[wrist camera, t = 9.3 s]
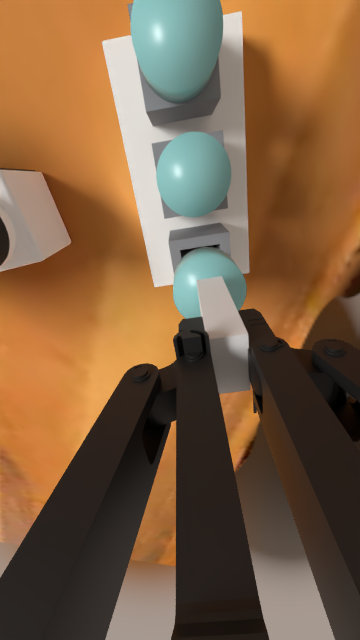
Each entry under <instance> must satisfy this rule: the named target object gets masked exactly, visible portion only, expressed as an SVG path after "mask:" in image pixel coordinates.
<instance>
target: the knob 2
mask: <svg viewBox="0 0 360 640" xmlns="http://www.w3.org/2000/svg"><path fill="white" fill-rule="evenodd" d="M156 179H157V186H158V190H159V193H160V195H161V197H162V199H163V200H164V202H165V203H166V204H167V206H168V207H169V208H170V209H172V210H173V211H174V212H176V213H178V214H180V215H182V216H186V217H200V216H204V215H206V214H208V213H210V212H212V211H213V210H215V209H216V208H217V207H218V206H219V205H220V204H221V203H222V201H223V200H224V198H225V197H226V195H227V193H228V190H229V187H230V183H231V164H230V160H229V157H228V154H227V153H226V151H225V149H224V147H223V146H222V145H221V144H220V143H219V141H217V140H216V139H215V138H214V137H212V136H210V135H208V134H206V133H202V132H187V133H184V134H181V135H179V136H177V137H176V138H174V139H173V140H172V141H171V142H170V143H169V144H168V145H167V146H166V147H165V149H164V150H163V152H162V154H161V156H160V158H159V161H158V165H157V172H156Z"/></svg>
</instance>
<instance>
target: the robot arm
mask: <svg viewBox="0 0 360 640" xmlns="http://www.w3.org/2000/svg"><path fill="white" fill-rule="evenodd" d="M196 281H197V289H198V296H199V304H200V312H201V317H195V318H188V319H183V320H182V321H181V322H180V324H179V333H177V334H176V335H175V336H174V339H173V342H174V347H175V352H176V357H177V360H176V361H175V362H174V363H172V364H171V365H169V366H167V367H165V368H162V369H159V370H158V368H157V367H156V366H154V365H153V364H139V365H137V366H134V367H132V368H131V369H129V370H128V371H127V372H126V373H125V374H124V376H123V377H122V379H121V381H120V382H119V384H118V386H117V387H116V389H115V391H114V392H113V394H112V395H111V397H110V399H109V400H108V402H107V404H106V405H105V407H104V409H103V410H102V412H101V414H100V415H99V417H98V418H97V420H96V422H95V423H94V425H93V427H92V428H91V430H90V432H89V433H88V435H87V436H86V438H85V440H84V441H83V443H82V445H81V446H80V448H79V450H78V451H77V453H76V455H75V456H74V458H73V459H72V461H71V463H70V464H69V466H68V468H67V469H66V471H65V473H64V474H63V476H62V477H61V479H60V481H59V482H58V484H57V486H56V487H55V489H54V491H53V492H52V494H51V496H50V497H49V499H48V500H47V502H46V504H45V505H44V507H43V509H42V510H41V512H40V514H39V515H38V517H37V519H36V520H35V522H34V523H33V525H32V527H31V528H30V530H29V532H28V533H27V535H26V537H25V538H24V540H23V541H22V543H21V545H20V547H19V548H18V550H17V551H16V553H15V555H14V556H13V558H12V560H11V561H10V563H9V565H8V566H7V568H6V569H5V571H4V573H3V574H2V576H1V578H0V640H105V638H106V635H107V631H108V628H109V625H110V622H111V619H112V615H113V612H114V609H115V605H116V602H117V599H118V596H119V592H120V589H121V586H122V583H123V580H124V576H125V573H126V570H127V567H128V563H129V560H130V557H131V554H132V550H133V547H134V544H135V541H136V537H137V534H138V531H139V528H140V524H141V521H142V518H143V515H144V511H145V508H146V505H147V502H148V498H149V495H150V492H151V489H152V485H153V482H154V479H155V476H156V472H157V469H158V466H159V463H160V459H161V456H162V453H163V450H164V446H165V443H166V440H167V437H168V433H169V430H170V427H171V422H172V421H175V420H176V616H175V625H174V630H173V634H172V637H171V640H269V637H268V633H267V629H266V626H265V622H264V619H263V615H262V610H261V605H260V601H259V596H258V591H257V586H256V580H255V575H254V571H253V565H252V561H251V555H250V550H249V545H248V540H247V534H246V529H245V524H244V519H243V514H242V509H241V504H240V499H239V494H238V489H237V484H236V478H235V473H234V468H233V463H232V458H231V453H230V448H229V443H228V438H227V433H226V427H225V422H224V417H223V412H222V407H221V402H220V397H219V394H221V393H229V392H238V391H246V390H250V382H251V385H252V388H253V408H254V413H257V412H258V414H259V417H260V420H261V423H262V426H263V429H264V432H265V435H266V438H267V440H268V444H269V447H270V450H271V453H272V456H273V459H274V461H275V464H276V467H277V470H278V473H279V476H280V479H281V482H282V485H283V488H284V491H285V494H286V496H287V500H288V502H289V505H290V508H291V511H292V514H293V517H294V520H295V523H296V526H297V529H298V532H299V535H300V538H301V540H302V543H303V547H304V549H305V552H306V555H307V558H308V561H309V564H310V567H311V570H312V573H313V576H314V579H315V582H316V585H317V587H318V591H319V593H320V596H321V599H322V602H323V605H324V608H325V611H326V614H327V617H328V619H329V623H330V626H331V629H332V631H333V635H334V637H335V640H360V350H359V349H357V348H355V347H354V346H352V345H350V344H349V343H346V342H344V341H341V340H336V339H323V340H319V341H317V342H315V343H314V345H313V348H312V350H303V349H294V348H290V346H289V345H288V343H287V342H285V341H284V340H283V339H280V338H278V337H275V335H274V333H273V332H272V330H271V329H270V327H269V325H268V324H267V322H266V321H265V319H264V317H263V316H262V314H261V313H260V312H258V311H257V310H255V309H247V310H239V311H237V308H236V306H235V304H234V302H233V300H232V298H231V295H230V293H229V291H228V289H227V287H226V284H225V282H224V280H223V278H222V276H219V277H213V278H206V279H199V280H196ZM349 394H350V395H351V396H352V397H354V398H355V399H356V401H355V400H353V399H352V398H350V397H349V396H348V395H349Z"/></svg>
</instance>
